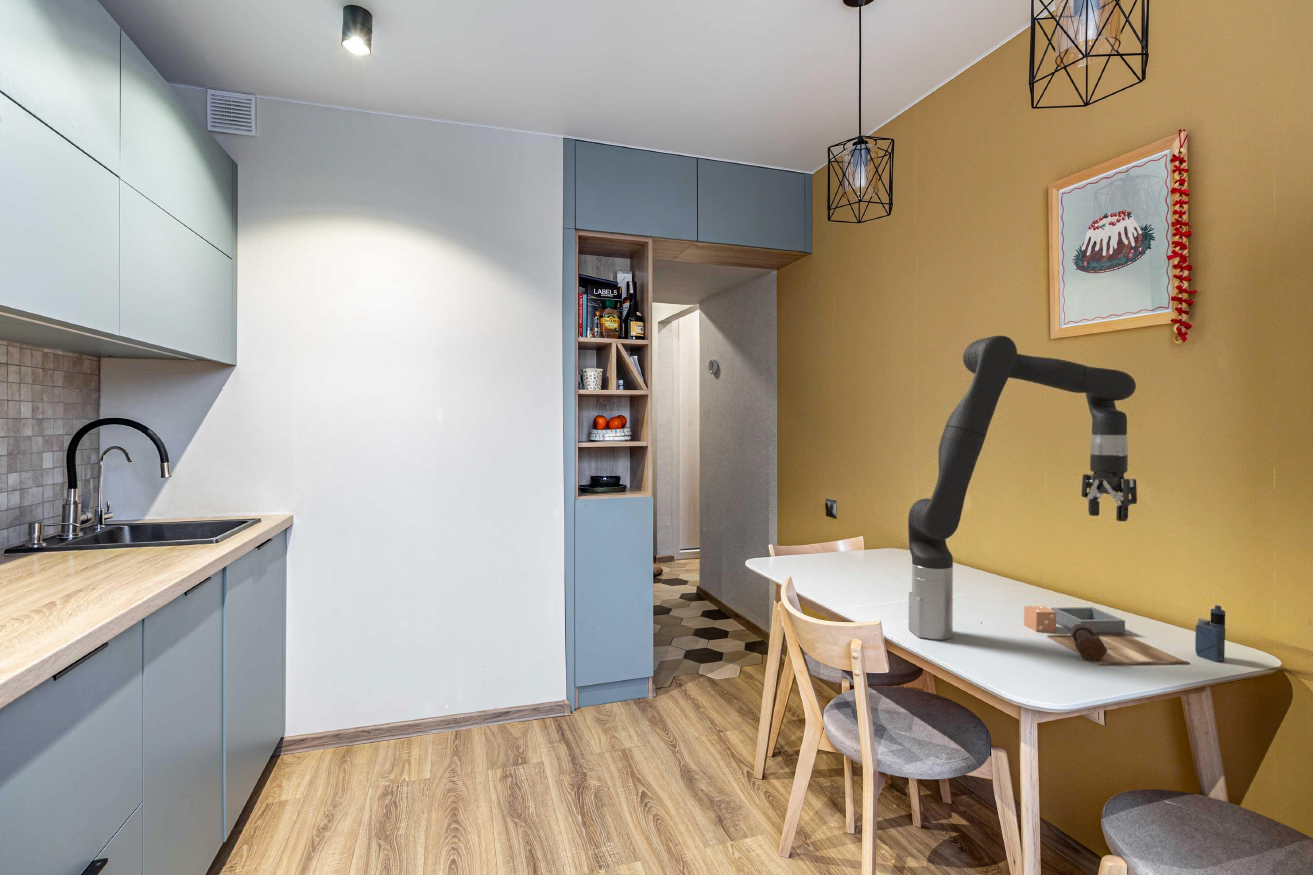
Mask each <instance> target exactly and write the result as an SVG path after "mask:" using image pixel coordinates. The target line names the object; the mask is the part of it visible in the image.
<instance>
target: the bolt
mask: <svg viewBox="0 0 1313 875" xmlns="http://www.w3.org/2000/svg"><path fill="white" fill-rule="evenodd" d="M1069 635H1071V636H1072V637H1073V639H1074V640H1075V642H1076V644H1075V646H1076V648H1077V650H1078V651H1079V653H1080V654H1081V655H1080V654H1079V655H1080V656H1081V657H1082V659H1083V660H1089V661H1091V660H1093V661H1100V660H1101V659H1102V658H1103V656H1104V655H1105V654H1106V652H1107V649H1106V647H1105V646H1104V644H1103V643H1102V641H1101V640H1100V638H1099V637H1098V636H1095V634H1094V633H1093V631H1092V630H1091V628H1090V627H1089V626H1085V625H1080V624H1076V625H1074V627H1073V628H1072V631H1071V630H1070V632H1069ZM1093 661H1092V662H1093Z"/></svg>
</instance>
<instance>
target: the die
mask: <svg viewBox="0 0 1313 875" xmlns="http://www.w3.org/2000/svg"><path fill="white" fill-rule="evenodd" d="M1023 611H1024V612H1023V626H1025V627H1027V628H1029V629H1030V630H1032V631H1034V632H1035V633H1046V632H1047V633H1053V632H1054V633H1055V632H1057V624H1056V612H1055V611H1053V610H1051V608H1048V607H1046V606H1044V605H1032V606H1031V605H1029V606H1027V605H1026V606H1023Z"/></svg>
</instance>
